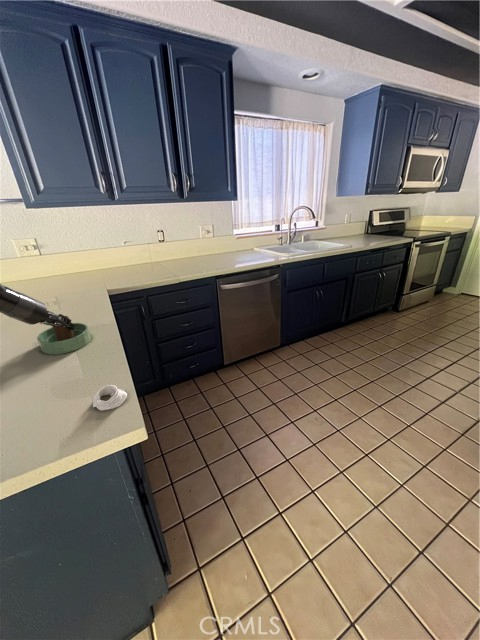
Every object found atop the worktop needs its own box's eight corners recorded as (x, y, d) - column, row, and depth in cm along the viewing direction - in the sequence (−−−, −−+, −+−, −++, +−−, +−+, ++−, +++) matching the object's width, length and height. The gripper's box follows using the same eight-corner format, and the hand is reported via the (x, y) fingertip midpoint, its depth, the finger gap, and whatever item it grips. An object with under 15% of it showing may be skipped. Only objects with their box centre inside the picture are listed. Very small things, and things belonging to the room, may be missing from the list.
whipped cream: (128, 394, 72) (126, 378, 71) (126, 409, 66) (124, 392, 65) (96, 398, 70) (93, 382, 68) (91, 414, 64) (88, 397, 62)
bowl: (35, 359, 86) (29, 345, 84) (50, 337, 100) (46, 325, 97) (86, 351, 90) (82, 338, 88) (94, 332, 104) (91, 320, 101)
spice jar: (55, 345, 91) (48, 323, 88) (60, 338, 96) (53, 316, 92) (72, 342, 93) (65, 320, 89) (76, 336, 97) (70, 314, 94)
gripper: (47, 298, 78) (87, 318, 94) (9, 294, 81) (54, 315, 97) (37, 321, 76) (80, 338, 91) (-2, 317, 79) (46, 334, 94)
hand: (66, 326), depth 94 cm, fingers closed on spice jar, 5 cm apart
